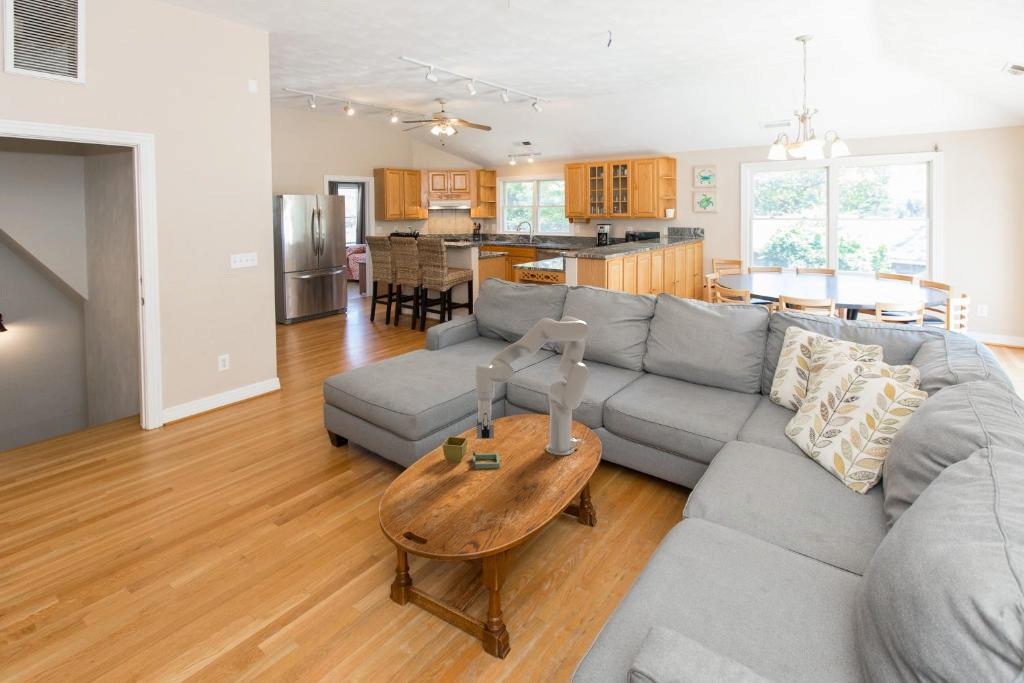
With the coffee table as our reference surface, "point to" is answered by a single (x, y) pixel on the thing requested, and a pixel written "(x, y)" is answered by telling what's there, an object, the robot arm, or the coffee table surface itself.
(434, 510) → the coffee table surface
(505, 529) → the coffee table surface
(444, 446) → the flower pot
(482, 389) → the robot arm
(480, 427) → the chute block
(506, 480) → the coffee table surface
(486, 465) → the frame
